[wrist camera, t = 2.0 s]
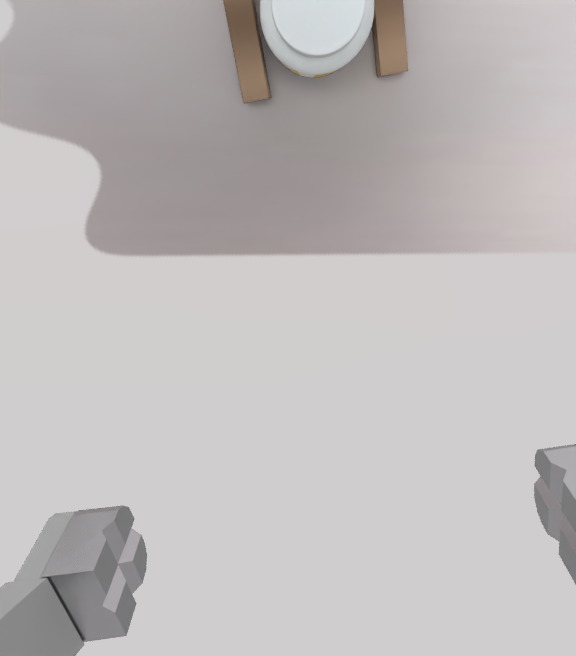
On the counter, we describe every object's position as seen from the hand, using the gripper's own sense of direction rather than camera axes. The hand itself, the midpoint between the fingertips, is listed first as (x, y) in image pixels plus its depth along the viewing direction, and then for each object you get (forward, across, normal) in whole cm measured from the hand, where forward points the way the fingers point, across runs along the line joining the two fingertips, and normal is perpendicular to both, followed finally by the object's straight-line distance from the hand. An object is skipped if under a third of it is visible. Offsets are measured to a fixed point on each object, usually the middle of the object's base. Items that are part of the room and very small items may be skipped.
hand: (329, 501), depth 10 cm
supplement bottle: (+27, -2, -10) cm, 29 cm away
